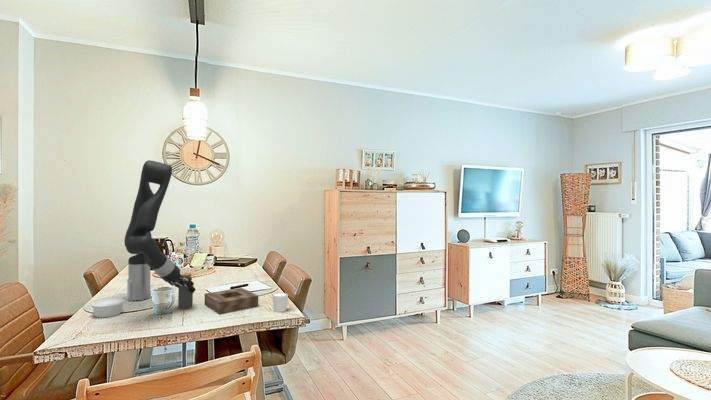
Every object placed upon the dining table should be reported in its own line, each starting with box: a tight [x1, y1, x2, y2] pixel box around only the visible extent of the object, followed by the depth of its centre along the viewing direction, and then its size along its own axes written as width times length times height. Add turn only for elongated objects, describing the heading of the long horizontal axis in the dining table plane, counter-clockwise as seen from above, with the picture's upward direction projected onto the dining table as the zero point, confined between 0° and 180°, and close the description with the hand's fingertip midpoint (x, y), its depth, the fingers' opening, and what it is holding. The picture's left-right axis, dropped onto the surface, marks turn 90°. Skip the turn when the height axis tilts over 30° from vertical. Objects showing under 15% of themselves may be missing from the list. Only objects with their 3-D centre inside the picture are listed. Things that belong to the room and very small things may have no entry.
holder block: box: [203, 287, 259, 315], centre depth 171 cm, size 18×18×5 cm
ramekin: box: [91, 298, 125, 319], centre depth 157 cm, size 11×11×5 cm
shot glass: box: [272, 292, 289, 313], centre depth 165 cm, size 7×7×7 cm
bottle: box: [177, 272, 194, 310], centre depth 168 cm, size 6×6×15 cm
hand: (188, 290), depth 169 cm, fingers closed on bottle, 5 cm apart
